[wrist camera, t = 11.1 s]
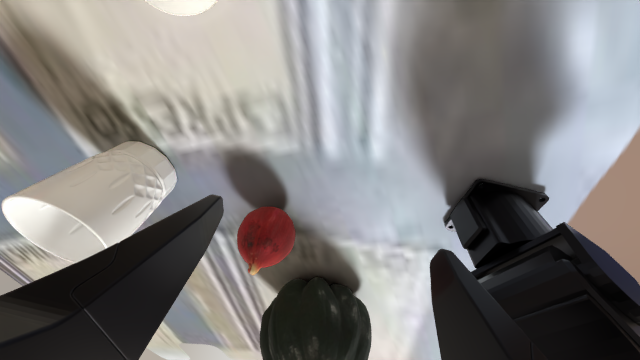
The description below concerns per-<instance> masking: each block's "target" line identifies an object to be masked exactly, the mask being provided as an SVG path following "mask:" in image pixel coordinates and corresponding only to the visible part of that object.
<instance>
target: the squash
mask: <svg viewBox="0 0 640 360" xmlns="http://www.w3.org/2000/svg"><path fill="white" fill-rule="evenodd" d="M260 348H261V354H262V357H263V360H368V356H369V352H370V348H371V323H370V318H369V314H368V311H367V308H366V306H365V305H364V304H363V303H362V301H361V300H359V299H358V298H357V297H355V296H354V295H353V293H352V292H351V290H350V289H349V288H348V287H346V286H344V285H340V284H333V285H331V286H329V285H328V284H327V282H326V281H325V280H324V279H323V278H320V277H314V278H313V279H311V280H310V281H309V282H308V283H307V282H306V281H304V280H301V279H296V280H292V281H290V282H288V283H287V284H286V285H285V286H284V287H283V288H282V289H281V291H280V292H279V293H278V295H277V297H276V298H275V299H274V300H273V301H272V303H271V305H270V306H269V307H268V309H267V310H266V311H265V312H264V314H263V317H262V323H261V331H260Z"/></svg>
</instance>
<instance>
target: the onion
mask: <svg viewBox="0 0 640 360" xmlns="http://www.w3.org/2000/svg"><path fill="white" fill-rule="evenodd" d="M294 241H295V228H294V225H293V222H292V220H291V218H290V217H289V216H288V215H287V213H285V212H284V211H283V210H281V209H279V208H276V207H260V208H258V209H256V210H254V211H252V212H250V213H249V214H248V215H247V216H246V217H245V218H244V220H243V222H242V223H241V225H240V227H239V229H238V234H237V242H238V249H239V252H240V254H241V256H242V257H243V259H244V260H245V261H246V262H247V263H248V265H249V269H248V272H249V273H250V274H251V275H254V274H256V273H258V271H259V269H260V268H265V267H269V266H272V265H275V264H277V263H279V262H280V261H281V260H283V259H284V258H285V257H286V256H287V255H288V254H289V253H290V252H291V250H292V248H293V245H294Z"/></svg>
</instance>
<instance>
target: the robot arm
mask: <svg viewBox="0 0 640 360" xmlns="http://www.w3.org/2000/svg"><path fill="white" fill-rule="evenodd" d="M482 183H483V184H482ZM480 184H482V185H480ZM540 198H541V199H540ZM548 200H549V197H548V196H547V195H546V194H545V193H542V192H537V191H533V190H529V189H524V188H520V187H516V186H512V185H507V184H503V183H499V182H495V181H490V180H486V179H478V180H476V181H475V182H474V183H473V185H472V186H471V188H470V189H469V190H468V192H467V193H466V195H465V196H464V197H463V198H462V199H461V201H460V202H459V203H458V205H457V206H456V208H455V209H454V210H453V212H452V213H451V215H450V217H449V218H448V220H447V221H446V223H445V227H446V229H447V230H449V231H454V232H457V234H458V237H459V239H460V241H461V244H462V246H463V248H464V249H467V250H468V253H469V255H470V257H471V260H472V262H473V264H474V267H475V268H476V270H474V271H472V272H470V271H469V270H468V269H467V268H466V267H465V266H464V264H463V263H462V262H461V261H460V260H459V259H458V258H457V256H456V255H455V254H454V253H453V252H452V251H449V250H445V249H440V250H439V251H438V252H437V253H436V255H435V256H434V257H433V259H432V260H431V262H430V277H431V295H432V305H433V312H434V318H435V324H436V330H437V336H438V342H439V348H440V354H441V360H640V285H639V284H638V282H637V281H636V280H635V278H633V277H632V276H631V275H630V274H629V273H628V272H627V271H626V270H625V269H624V268H623V267H622V266H621V265H620V264H619V263H618V262H616V261H615V260H614V259H613V258H612V257H611V256H610V255H609V254H608V253H607V252H606V251H605V250H603V249H602V248H600V247H599V246H598V245H596V244H595V243H593V242H592V241H590V240H589V239H588V238H586V237H585V236H583V235H582V234H581V233H579V232H578V231H576V230H575V229H573V228H572V227H571V226H569V225H568V224H566V223H565V222H563V223H561V224H559V225H557V226H556V227H557V228H555V229H552V227H551V226H550V225H549V224H548V223H547V222H546V220H545V219H544V218H543V217H542V216H541V215H540V213H539V212H538V210H539V209H540V208H541V207H542V206H543V205H544V204H545V203H546V202H547V201H548ZM223 212H224V209H223V199H222V197H221V196H217V195H209V196H207V197H205V198H203V199H201V200H200V201H198V202H196V203H194V204H192V205H190V206H188V207H186V208H184V209H182V210H180V211H178V212H176V213H174V214H172V215H170V216H168V217H166V218H165V219H163V220H161V221H159V222H157V223H155V224H153V225H151V226H149V227H147V228H145V229H143V230H141V231H139V232H137V233H135V234H133V235H131V236H129V237H128V238H126V239H124V240H122V241H120V243H116V244H114V245H112V246H110V247H108V248H106V249H104V250H102V251H100V252H98V253H96V254H94V255H92V256H90V257H88V258H86V259H83V260H81V261H79V262H77V263H75V264H72V265H70V266H68V267H66V268H63V269H61V270H59V271H57V272H54V273H52V274H50V275H47V276H45V277H43V278H41V279H38V280H36V281H34V282H31V283H29V284H27V285H25V286H22V287H20V288H18V289H16V290H13V291H11V292H8V293H6V294H4V295H1V296H0V360H139V358H140V356H141V355H142V353H143V352H144V350H145V348H146V347H147V345H148V343H149V342H150V340H151V339H152V337H153V335H154V334H155V332H156V331H157V329H158V327H159V326H160V324H161V322H162V321H163V319H164V318H165V316H166V314H167V313H168V311H169V310H170V308H171V306H172V305H173V303H174V301H175V300H176V298H177V297H178V295H179V293H180V292H181V290H182V289H183V287H184V285H185V284H186V282H187V280H188V279H189V277H190V276H191V274H192V272H193V271H194V269H195V268H196V266H197V264H198V263H199V261H200V259H201V258H202V256H203V255H204V253H205V251H206V250H207V248H208V246H209V244H210V242H211V239H212V237H213V235H214V233H215V231H216V229H217V227H218V225H219V223H220V220H221V218H222V216H223ZM450 225H451V226H450Z"/></svg>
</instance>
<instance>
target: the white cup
mask: <svg viewBox="0 0 640 360" xmlns="http://www.w3.org/2000/svg"><path fill="white" fill-rule="evenodd" d="M176 182H177V176H176V172H175V169H174V167H173V166H172V164H171V163H170V161H169V160H168V159H167V157H165V156H164V155H163V154H162V153H160V152H159V151H158V150H157V149H155V148H154V147H152V146H149V145H147V144H144V143H142V142H136V141H126V142H124V143H122V144H120V145H118V146H116V147H114V148H112V149H110V150H108V151H106V152H104V153H101V154H97V155H95V156H92V157H90V158H88V159H86V160H84V161H82V162H80V163H78V164H75V165H73V166H70V167H68V168H66V169H64V170H62V171H60V172H58V173H56V174H54V175H52V176H50V177H48V178H46V179H44V180H42V181H40V182H38V183H36V184H34V185H32V186H29V187H27V188H25V189H23V190H21V191H19V192H17V193H15V194H13V195H11V196H9V197H7V198H5V199H4V200H3V202H2V211H3V214H4V215H5V217H6V219H7V220H8V221H9V223H10V224H11V225H12V226H13V227H14V228H15V229H16V230H17V231H18V232H19V233H20V234H21V235H23V236H24V237H25V238H26V239H28V240H29V241H31V242H32V243H33V244H35V245H37V246H38V247H40V248H42V249H43V250H45V251H47V252H49V253H51V254H53V255H55V256H57V257H59V258H62V259H64V260H67V261H70V262H73V263H77V262H79V261H81V260H83V259H86V258H88V257H90V256H92V255H94V254H96V253H98V252H100V251H102V250H104V249H106V248H108V247H110V246H112V245H114V244H116V243H120V241H122V240H124V239H126V238H128V237H129V236H131V235H132V234H133V233H134V232H135V231H136V230H137V229H138V228H139V227H140V226H141V225H142V224H143V223H144V222H145V220H146V219H147V218H148V217H149V216H150V214H151V213H152V212H153V211H154V210H155V209H156V208H157V207H158V206H159V204H160V203H161V202H162V200H163V199H164V198H165V197H166V196H167V195H168V194H169V193H170V192H171V191H172V190H173V189H174V187H175V184H176Z"/></svg>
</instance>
